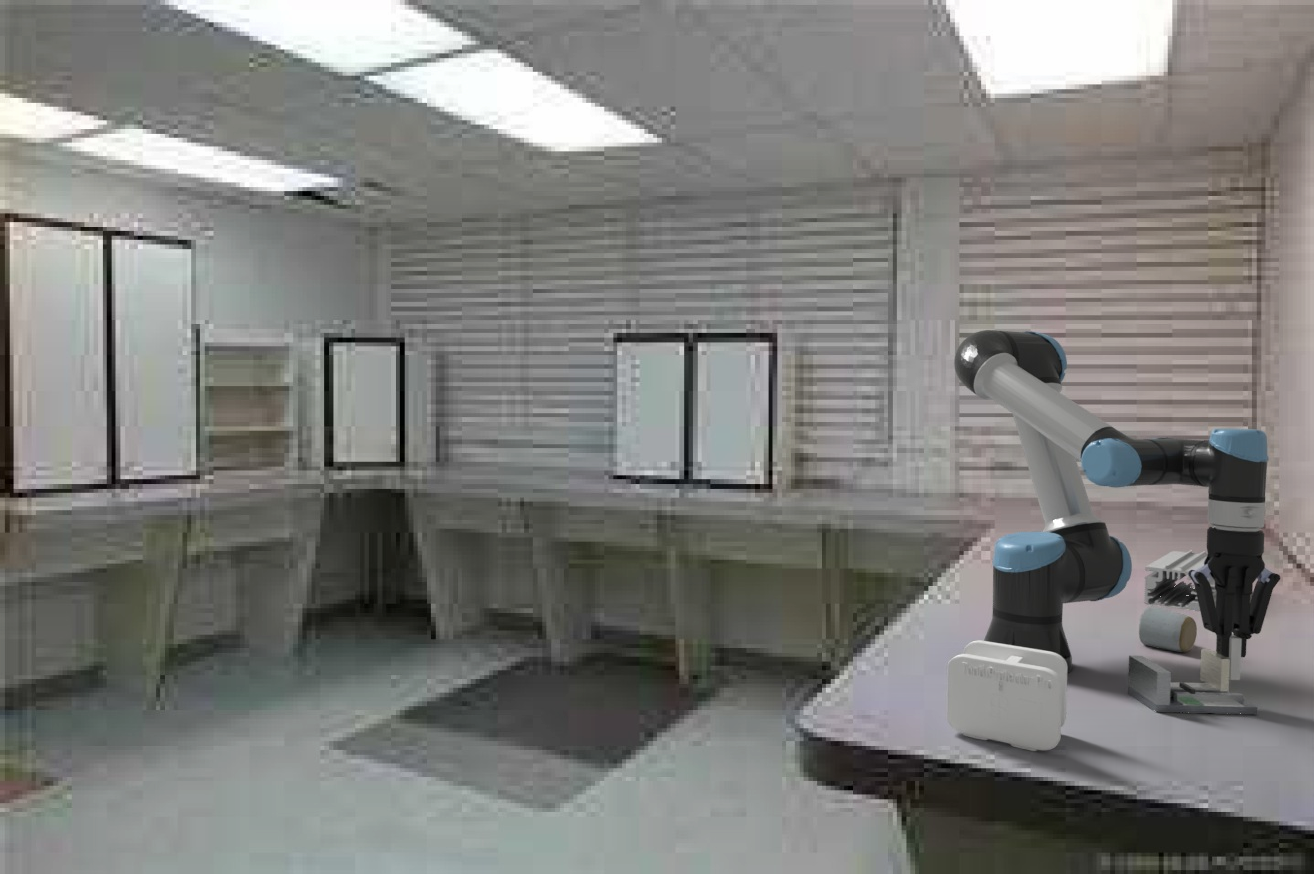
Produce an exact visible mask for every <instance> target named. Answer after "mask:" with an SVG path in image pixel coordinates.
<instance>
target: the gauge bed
mask: <svg viewBox="0 0 1314 874" xmlns="http://www.w3.org/2000/svg"><path fill="white" fill-rule="evenodd" d="M1171 675H1172V672H1170V671H1169V670H1167V669H1165V668H1164V667H1162V666H1160V665H1158V664H1157V663H1155V662H1153V661H1152V660H1149V659H1148V658H1146V657H1144V656H1143V655H1128V678H1127V679H1128V680H1127V681H1128V683H1127V694H1129V696H1131V697H1133V698H1134V699H1136V700H1137V701H1139V702H1140V703H1142V704H1143V705H1145V706H1146V707H1147V706H1148V708H1149V709H1151V710H1152V711H1153V710H1155V711H1156V712H1155V711H1154V712H1155V713H1160V712H1180V713H1179V714H1197V713H1215V714H1214V715H1235V714H1240V713H1241V714H1257V715H1258V710H1259V707H1258V706H1256V705H1255V704H1252V703H1250V702H1249V701H1246V700H1245V695H1243V694H1242V693H1240V692H1230V690H1229V691H1219V690H1218V693H1208V692H1195V694H1191V693H1189V692H1174V696H1170V685H1171V682H1172V681H1171V680H1172V676H1171ZM1157 711H1158V712H1157ZM1182 712H1183V713H1182ZM1185 712H1186V713H1185ZM1188 712H1189V713H1188ZM1227 713H1228V714H1227Z"/></svg>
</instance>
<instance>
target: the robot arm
mask: <svg viewBox="0 0 1314 874" xmlns="http://www.w3.org/2000/svg"><path fill="white" fill-rule="evenodd" d="M1067 359H1068V358H1067V356H1066V353H1065V350H1064V348H1063V347H1062V345H1061V344H1060V342H1058V341H1057V339H1055V338H1054V337H1052V336H1050V335H1048V334H1045V333H1041V332H1040V333H1039V332H1037V331H1030V330H1029V331H1027V330H1026V331H1010V330H1009V331H1006V330H994V329H986V330H980V331H976V332H974V333H972V334H970V335H969V336H967V337H966V338H965V339H964V340H963V341H961V343H960V344H959V346H958V347H957V350H956V352H955V355H954V362H953V364H954V365H953V366H954V370H955V374H956V376H957V378H958V379H959V381H960V382H961V384H963V386H965V388H967V389H968V390H970V391H971V392H972V393H973V394H975V395H976V396H977V397H978V398H980V399H982V400H993V401H994V402H996V403H998V404H999V405H1000V406H1001V407H1003V408H1005V409H1006V410H1007V411H1008V412H1010V413H1012V417H1013V420H1014V424H1015V427H1016V430H1017V433H1018V437H1019V441H1020V444H1021V448H1022V451H1023V454H1024V457H1025V460H1026V465H1027V468H1028V472H1029V474H1030V478H1031V480H1032V485H1033V488H1034V491H1035V494H1036V498H1037V501H1038V504H1039V508H1040V510H1041V515H1042V519H1043V521H1044V528H1043V530H1042V531H1029V532H1028V531H1021V532H1013V533H1010V534H1006V535H1003V536H1001V537H1000V538H998V539H997V541H996V542H995V545H994V554H993V558H992V566H993V568H992V569H993V570H992V572H993V573H992V613H991V614H992V618H991V620H990V621H991V622H990V624H989V625H988V626H989V627H988V628H987V631H986V634H985V637H984V640H983V641H988V642H994V643H1000V644H1007V645H1013V646H1019V647H1026V648H1032V649H1038V650H1044V651H1050V652H1054V653H1057V654H1059V655H1060V656H1062V657H1063V658H1064V659H1065V661H1066V663H1067V674H1069V673H1070V672H1072V670H1073V657H1072V652H1071V650H1070V645H1069V643H1068V641H1067V640H1068V639H1067V637H1066V633H1065V629H1064V627H1063V609H1064V604H1070V603H1079V602H1088V601H1089V602H1098V601H1103V600H1104V599H1110V598H1113V597H1115V596H1117V595H1118V594H1120V593H1121V592H1122V591H1123V590H1124V589H1125V588H1126V587H1127V584H1128V582H1129V581H1130V580H1131V576H1132V569H1133V564H1132V557H1131V554H1130V552H1129V549H1128V547H1127V546H1126V545H1125V544H1124V543H1123V542H1122V541H1120V540H1119V539H1118V538H1116V537H1115V536H1112V535H1110V533H1109V531H1108V528H1107V524H1106V521H1104V520H1103V519H1101V518H1099V517H1097V516H1095V514H1094V512H1093V509H1092V506H1091V503H1090V499H1089V497H1088V493H1087V491H1086V487H1085V484H1084V480H1083V478H1082V474H1081V470H1080V467H1079V465H1078V462H1077V460H1078V461H1079V462H1080V463H1081V468H1082V471H1083V472H1084V475H1085V477H1086V479H1087V480H1088V481H1090V482H1091V483H1092V484H1094V485H1097V486H1100V487H1109V488H1124V487H1135V486H1136V487H1137V486H1138V487H1139V486H1162V485H1163V486H1164V485H1168V486H1169V485H1184V486H1194V487H1195V486H1197V487H1206V488H1208V493H1207V494H1208V500H1207V524H1209V525H1211V526H1208V528H1207V530H1206V553H1207V554H1208V555H1207V557H1206V559H1205V561H1204V566H1202V567H1201V568H1199V569H1197V570H1196V571H1195V570H1190V571H1189V572H1188V575H1189V576H1190V578H1191V580H1190V581H1191V582H1193V583H1192V584H1193V585H1194V584H1195V589H1196V593H1197V598H1198V603H1199V607H1200V611H1199V612H1200V615H1201V620H1202V621H1201V622H1202V624H1203V625H1202V626H1203V628H1204V629H1205V630H1207V631H1210V632H1212V633H1214V634H1215V635H1216V642H1215V643H1216V644H1215V645H1216V646H1215V647H1216V648H1215V652H1216V653H1218V654H1220V655H1222V656H1224V657H1226V658H1228V659H1230V669H1229V681H1231V680H1232V681H1240V680H1241V667H1242V666H1241V665H1242V658H1245V657H1246V656H1247V640H1250V639H1251V638H1252V636H1253V635H1254V634H1255V635H1259V634H1260V633H1261V632H1262V628H1263V626H1264V625H1263V624H1264V622H1265V618H1266V614H1267V611H1268V608H1269V604H1270V601H1271V597H1272V594H1273V591H1274V588H1275V587H1276V586H1277V584H1278V583H1279V582H1280V580H1281V575H1280V574H1278V573H1275V572H1272V571H1271V570H1269V569H1268V568H1267V567H1266V565H1265V562H1264V560H1263V554H1264V552H1265V532H1263V530H1261V529H1262V528H1264V527H1265V522H1266V521H1265V519H1266V518H1265V517H1266V491H1267V490H1266V487H1267V470H1268V461H1269V455H1268V437H1267V434H1266V433H1265V432H1264V431H1263V430H1261V429H1255V428H1254V429H1252V428H1251V429H1249V428H1214V429H1212V430H1211V432H1210V435H1209V437H1210V438H1209V439H1208V440H1207V439H1204V440H1201V439H1187V438H1173V437H1152V438H1150V437H1149V438H1132V437H1129V436H1127V435H1126V433H1125V434H1124V433H1122V432H1121V431H1120V430H1119V429H1116V428H1114V427H1113V426H1112V425H1110V423H1108V422H1106V421H1105V420H1102V419H1101V418H1100V417H1098V416H1096V415H1095V414H1093V413H1092V412H1090V411H1089V410H1087V409H1085V408H1084V407H1083V406H1081V405H1080V404H1078V403H1076V402H1075V401H1073V400H1071V399H1070V398H1069V397H1067V396H1066V395H1064V394H1062V393H1061V392H1062V390H1063V385H1062V382H1063V380H1064V379H1065V376H1066V372H1065V371H1066V370H1068V369H1067V368H1068V360H1067ZM1209 573H1210V575H1211V576H1212V578H1213V579H1214V581H1215V590H1216V607H1215V602H1214V598H1213V593H1212V589H1211V585H1210V583H1209V581H1210V576H1209ZM1188 575H1187V576H1188ZM1256 580H1257V581H1256ZM1255 582H1256V583H1255ZM1254 583H1255V585H1254ZM1253 585H1254V586H1253ZM1253 588H1254V589H1253ZM1251 595H1252V596H1251Z"/></svg>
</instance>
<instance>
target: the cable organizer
mask: <svg viewBox="0 0 1314 874" xmlns="http://www.w3.org/2000/svg"><path fill="white" fill-rule="evenodd" d="M946 668H947V673H946V674H947V675H946V710H945V711H946V713H945V714H946V715H945V717H946V718H945V720H946V722H947V724H948V725H949V726H950V728H951V729H953V730H955V731H956V732H959V733H961V734H962V735H963V736H965V737H968V738H973V739H976V740H982V741H988V740H992V741H997V742H1002V743H1006V744H1010V746H1011V747H1013V748H1018V749H1022V750H1027V751H1030V752H1037V751H1050V750H1053V749H1054V748H1056V747H1057V746H1058V744H1059V743H1060V741H1061V736H1062V733H1061V732H1062V727H1063V726H1064V724H1065V723H1066V720H1067V700H1068V699H1067V697H1068V694H1067V692H1068V673H1067V663H1066V661H1065V659H1064V658H1063V657H1062V656H1060V655H1059V654H1057V653H1054V652H1050V651H1044V650H1038V649H1032V648H1026V647H1019V646H1013V645H1007V644H1000V643H994V642H988V641H984V640H981V639H980V640H974V641H971V642H969V643H967V645H966V646H965V647H964V648H963V653H960V654H957V655H955V656H954V657H952V658H951V659H950V660H949V661H948V662H947V667H946Z"/></svg>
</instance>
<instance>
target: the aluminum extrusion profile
mask: <svg viewBox="0 0 1314 874" xmlns="http://www.w3.org/2000/svg"><path fill="white" fill-rule="evenodd" d="M1193 551H1194V549H1189V551H1187V552H1186V551H1177V550H1172V551H1170V552H1168V553H1167V554H1165V555H1163V556H1162V557H1159V558H1158V559H1156V560H1155V561H1153V562H1151V563H1150V564H1148V565H1146V566H1145V567H1144V568H1145V571H1146V572H1151V573H1149V574H1147V575H1146V576H1145V577H1144V600H1143V601H1144V604H1145V605H1149V606H1157V605H1159V607H1164V606H1165V607H1166V608H1174V609H1179V610H1186V609H1189V610H1188V611H1193V610H1195V611H1194V612H1200V607H1199V603H1198V598H1197V593H1196V589H1193V588H1194V587H1195V584H1194V583H1192V582H1189V583H1188V584H1187V583H1186V582H1185V581H1180V580H1182V579H1184V578H1185V577H1186V576H1187V578H1186V579H1187V581H1192V580H1191V578H1190V576H1189V575H1188V572H1189V571H1190V570H1195V571H1196V570H1197V569H1199V568H1201V567H1202V566H1204V561H1205V559H1206V557H1207V555H1208V552H1207V550H1204V551H1202V552H1200V553H1198V552H1193ZM1209 576H1210V581H1209V583H1210V585H1211V589H1212V593H1213V598H1214V602H1215V607H1216V590H1215V581H1214V579H1213V578H1212V576H1211V575H1210V573H1209ZM1177 581H1180V582H1179V583H1176V582H1177ZM1176 584H1177V585H1176ZM1192 584H1193V585H1192ZM1175 585H1176V586H1175ZM1174 586H1175V587H1174ZM1190 586H1191V588H1190ZM1186 595H1189V596H1186ZM1160 596H1161V597H1160Z"/></svg>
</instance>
